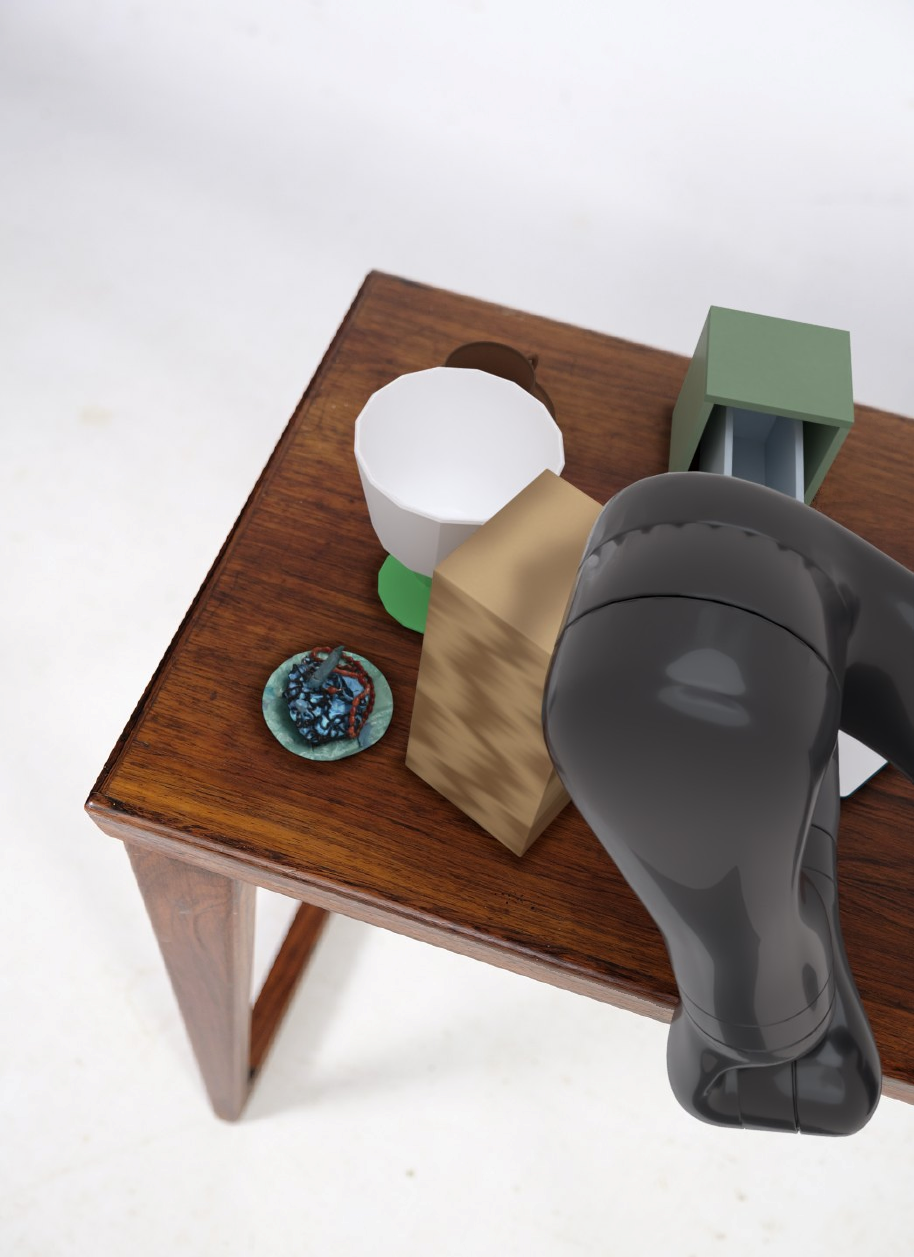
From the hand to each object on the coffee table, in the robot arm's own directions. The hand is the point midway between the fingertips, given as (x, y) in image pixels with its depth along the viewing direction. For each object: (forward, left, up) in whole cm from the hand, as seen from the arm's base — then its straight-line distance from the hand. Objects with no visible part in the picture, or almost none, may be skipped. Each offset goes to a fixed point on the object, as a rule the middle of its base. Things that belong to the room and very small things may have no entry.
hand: (773, 561), depth 80 cm
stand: (+6, +18, -11) cm, 22 cm away
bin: (+8, -14, -11) cm, 19 cm away
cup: (+19, +10, -11) cm, 25 cm away
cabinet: (+10, -17, -11) cm, 22 cm away
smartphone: (-6, 0, -11) cm, 12 cm away
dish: (+18, +23, -11) cm, 32 cm away
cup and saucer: (+27, -5, -11) cm, 30 cm away
